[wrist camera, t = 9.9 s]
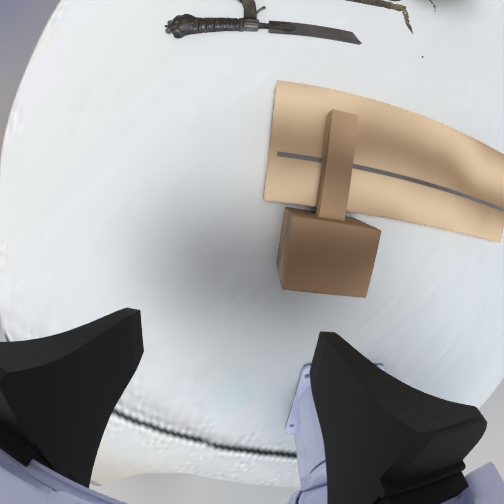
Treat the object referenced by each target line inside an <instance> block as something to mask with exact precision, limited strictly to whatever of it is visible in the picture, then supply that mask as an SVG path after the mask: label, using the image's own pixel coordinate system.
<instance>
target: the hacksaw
mask: <svg viewBox="0 0 504 504" xmlns="http://www.w3.org/2000/svg"><path fill="white" fill-rule="evenodd" d="M239 1H240V2H242V3H243V7H244V18H239V19H237V18H197V17H194V16H192V15H189V14H184V15H178V16H176V17H175V18H174V19H173V21H172V20H170V21H168V25H165V27H169V28H167V29H166V30H165V31H166V32H170V31H171V29H172V31H173V32H172V34H173V35H174V37H175V38H181V37H183V36H184V35H188V34H195V33H202V32H216V31H237V30H238V31H258V28H261V29H269V32H271V33H272V32H274V33H286V34H287V33H288V34H297V35H298V34H299V35H305V36H314V37H319V38H320V37H321V38H327V39H333V40H338V41H343V42H348V43H353V44H358V45H359V44H361V43H362V42H360V41H359V40H358V39H357V37H356V36H355V35H354V34H353V32H349V31H345V30H340V29H334V28H329V27H323V26H316V25H309V24H301V23H292V22H280V21H269V23H268V24H267V23H259V20H257V18H256V13H257V12H258V11H259V10H261V9H262V8H266V7H265V6H263V7H262V8H260V9H259V10H258V11H256V6H255V1H254V0H239ZM347 1H352V2H358V3H363V4H368V5H374V6H379V7H385V8H388V9H393V8H394V10H397V11H404V12H402V13H403V14H404V13H405V12H406V11H405V10H406V9H405V8H406V7H405V6H404V7H403V5H398V4H393V3H391V2H386V1H383V0H347ZM390 1H400V0H390ZM430 1H431V0H430ZM431 3H432V2H431ZM433 5H434V4H433ZM434 8H435V6H434ZM404 9H405V10H404ZM435 9H436V8H435ZM435 11H436V10H435ZM404 16H405V17H404V19H405V22H406V25H407V27H408V28H409V29H410V31H411V32H412V28H411V26H410V24H409V22H410V21H409V20H408V18H409V16H408V13H407V12H406V14H404ZM412 34H413V32H412ZM422 58H423V56H422Z"/></svg>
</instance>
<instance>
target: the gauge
mask: <svg viewBox="0 0 504 504" xmlns="http://www.w3.org/2000/svg"><path fill="white" fill-rule="evenodd" d="M357 121H358V115H355V114H351V113H347V112H343V111H339V110H334V109H332V110H331V111H330V112H329V113H328V116H327V126H326V135H325V144H324V152H323V160H322V168H321V176H320V183H319V190H318V197H317V204H316V210H315V211H309V210H302V209H295V208H288V207H285V210H284V217H283V224H282V231H281V238H280V244H279V251H278V258H277V267H278V272H279V277H280V281H281V286H282V289H283V290H292V291H301V292H311V293H321V294H331V295H341V296H352V297H363V298H366V294H367V290H368V286H369V283H370V279H371V275H372V271H373V266H374V262H375V258H376V253H377V249H378V244H379V239H380V234H381V230H379V229H377V228H375V227H373V226H370V225H368V224H366V223H364V222H362V221H359V220H357V219H355V218H352V217H346V210H347V203H348V197H349V190H350V183H351V176H352V168H353V160H354V151H355V142H356V132H357Z"/></svg>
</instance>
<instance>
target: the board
mask: <svg viewBox="0 0 504 504" xmlns="http://www.w3.org/2000/svg"><path fill="white" fill-rule="evenodd" d="M332 109H334V110H339V111H343V112H347V113H351V114H355V115H358V121H357V132H356V142H355V151H354V160H353V168H352V176H351V183H350V190H349V197H348V203H347V210H346V211H348V212H354V213H360V214H366V215H372V216H378V217H383V218H389V219H394V220H400V221H405V222H410V223H415V224H420V225H425V226H430V227H435V228H440V229H444V230H449V231H453V232H458V233H462V234H466V235H471V236H475V237H479V238H483V239H487V240H491V241H495V242H499V243H500V242H501V237H502V232H503V226H504V155H503V154H502V153H500V152H498V151H497V150H495V149H493V148H491V147H489V146H487V145H486V144H484V143H482V142H480V141H478V140H476V139H474V138H472V137H470V136H468V135H466V134H464V133H462V132H460V131H457V130H455V129H453V128H451V127H448V126H446V125H444V124H441V123H439V122H437V121H434V120H432V119H429V118H427V117H424V116H421V115H419V114H416V113H413V112H411V111H408V110H405V109H402V108H399V107H396V106H393V105H390V104H386V103H383V102H380V101H376V100H373V99H369V98H366V97H362V96H358V95H354V94H350V93H346V92H341V91H337V90H332V89H327V88H322V87H317V86H312V85H306V84H300V83H293V82H286V81H279V80H277V83H276V89H275V98H274V108H273V117H272V126H271V135H270V144H269V153H268V162H267V171H266V180H265V189H264V198H263V199H264V200H267V201H276V202H284V203H292V204H300V205H307V206H314V207H316V204H317V197H318V190H319V183H320V176H321V168H322V160H323V152H324V144H325V135H326V126H327V116H328V113H329V112H330V111H331V110H332Z"/></svg>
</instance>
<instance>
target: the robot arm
mask: <svg viewBox="0 0 504 504" xmlns="http://www.w3.org/2000/svg"><path fill="white" fill-rule="evenodd" d="M143 352H144V347H143V338H142V326H141V313H140V310H137V309H131V308H124V309H121V310H119V311H116V312H114V313H111V314H109V315H107V316H104V317H102V318H100V319H97V320H95V321H93V322H90V323H88V324H85V325H83V326H80V327H77V328H75V329H72V330H69V331H66V332H63V333H60V334H56V335H52V336H48V337H44V338H38V339H32V340H26V341H15V342H0V504H128V503H125V502H122V501H119V500H116V499H114V498H111V497H108V496H105V495H103V494H101V493H98V492H96V491H94V490H91V489H89V484H90V479H91V474H92V469H93V466H94V462H95V458H96V455H97V451H98V448H99V445H100V442H101V439H102V436H103V433H104V430H105V428H106V425H107V423H108V420H109V418H110V415H111V413H112V411H113V409H114V407H115V405H116V404H117V402H118V400H119V399H120V397H121V395H122V393H123V392H124V390H125V388H126V387H127V385H128V383H129V382H130V380H131V378H132V376H133V375H134V373H135V371H136V369H137V367H138V365H139V362H140V360H141V357H142V355H143ZM385 370H386V369H385V367H384V366H383V365H375V364H373V363H372V362H371V361H369V360H368V359H367V358H366V357H364V356H363V355H362V354H361V353H359V352H358V351H357V350H356V349H355V348H353V347H352V346H351V345H350V344H349V343H348V342H346V341H345V340H344V339H343V338H342V337H340V336H339V335H338V334H336V333H335V332H320V334H319V338H318V342H317V346H316V349H315V353H314V357H313V360H312V364H311V365H307V366H305V367H304V368H303V370H302V373H301V377H300V381H299V384H298V388H297V391H296V395H295V398H294V401H293V405H292V408H291V411H290V415H289V418H288V421H287V424H286V427H285V432H286V433H287V434H295V442H296V450H297V459H298V469H299V475H300V478H301V479H300V481H301V490H298V491H296V492H294V493H293V494H292V495H291V497H290V499H289V502H288V504H504V482H503V480H502V478H501V476H500V475H499V473H498V471H497V469H496V468H495V466H494V464H493V463H492V462H489V463H487V464H485V465H483V466H482V467H480V468H478V469H476V470H474V471H472V472H470V473H469V474H468V475H467V476H465V477H464V476H463V473H462V472H461V471H463V470H464V469H465V464H464V462H463V459H464V458H465V457H466V456H467V454H468V453H469V452H470V451H471V450H472V449H473V448H474V446H475V445H476V444H477V443H478V442H479V440H480V439H481V437H482V436H483V434H484V432H485V430H486V426H487V422H486V420H485V418H484V417H483V416H482V415H481V413H480V411H479V410H478V409H477V408H476V407H475V406H470V405H465V404H460V403H455V402H451V401H447V400H444V399H441V398H437V397H434V396H432V395H429V394H426V393H424V392H422V391H419V390H417V389H415V388H413V387H411V386H409V385H407V384H405V383H403V382H401V381H399V380H398V379H396V378H394V377H392V376H391V375H389V374H388V373H386V372H385ZM306 374H309V375H308V376H305V375H306ZM291 424H292V425H291Z"/></svg>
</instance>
